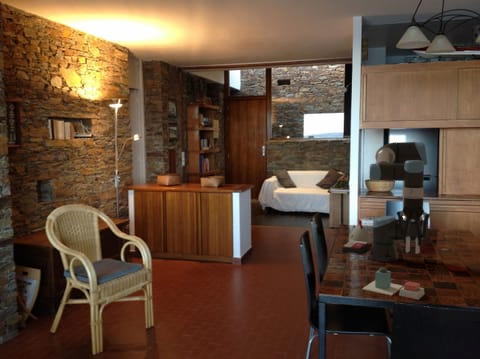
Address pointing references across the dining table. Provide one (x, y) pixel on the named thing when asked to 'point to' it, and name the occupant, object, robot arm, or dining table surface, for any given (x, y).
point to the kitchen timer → (360, 234)
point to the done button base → (412, 293)
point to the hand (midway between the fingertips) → (412, 252)
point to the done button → (412, 286)
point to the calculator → (355, 246)
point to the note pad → (389, 291)
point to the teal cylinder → (382, 278)
